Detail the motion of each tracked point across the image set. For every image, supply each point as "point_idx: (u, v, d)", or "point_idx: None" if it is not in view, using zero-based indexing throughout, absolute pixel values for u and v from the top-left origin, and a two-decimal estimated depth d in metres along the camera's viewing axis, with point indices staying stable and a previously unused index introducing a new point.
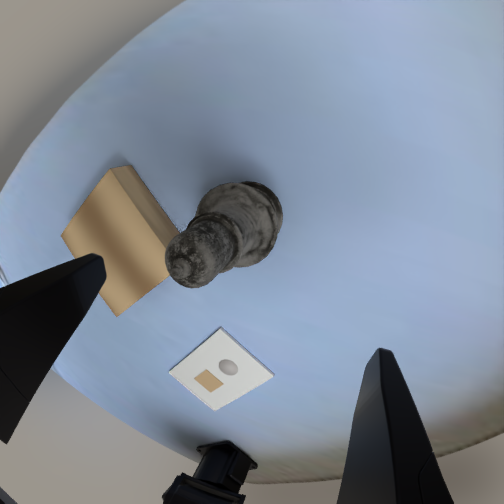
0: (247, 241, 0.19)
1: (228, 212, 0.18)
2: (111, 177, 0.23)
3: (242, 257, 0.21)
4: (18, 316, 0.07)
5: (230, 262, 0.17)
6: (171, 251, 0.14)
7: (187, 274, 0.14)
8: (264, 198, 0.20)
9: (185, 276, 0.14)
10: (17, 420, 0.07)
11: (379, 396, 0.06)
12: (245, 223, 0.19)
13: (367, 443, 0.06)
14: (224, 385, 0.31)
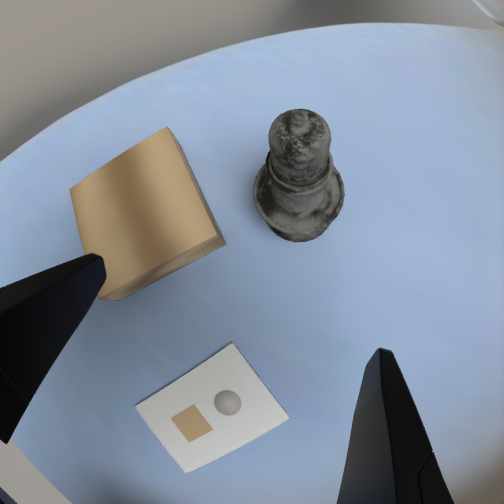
0: (322, 188, 0.17)
1: None
2: (165, 134, 0.22)
3: (304, 218, 0.19)
4: (18, 315, 0.07)
5: (318, 181, 0.15)
6: (287, 114, 0.13)
7: (306, 130, 0.12)
8: (334, 167, 0.19)
9: (302, 133, 0.12)
10: (17, 420, 0.07)
11: (379, 396, 0.06)
12: None
13: (367, 443, 0.06)
14: (213, 432, 0.20)
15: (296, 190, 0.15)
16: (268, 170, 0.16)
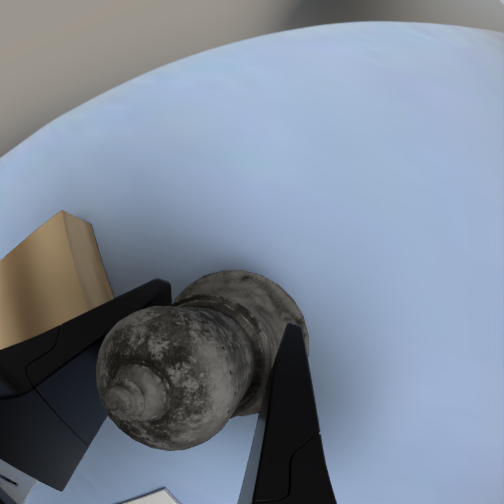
0: None
1: None
2: (59, 223, 0.14)
3: None
4: (83, 360, 0.06)
5: None
6: (119, 342, 0.05)
7: (153, 414, 0.04)
8: (295, 305, 0.12)
9: (145, 419, 0.04)
10: (74, 465, 0.06)
11: (272, 368, 0.07)
12: None
13: (261, 417, 0.06)
14: None
15: None
16: None
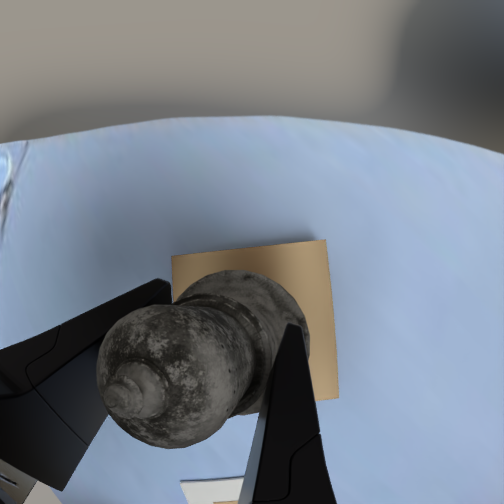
0: None
1: None
2: (321, 250, 0.19)
3: None
4: (83, 360, 0.06)
5: None
6: (119, 340, 0.05)
7: (152, 412, 0.04)
8: (296, 305, 0.12)
9: (144, 416, 0.04)
10: (73, 465, 0.06)
11: (273, 368, 0.07)
12: None
13: (261, 417, 0.06)
14: None
15: None
16: None
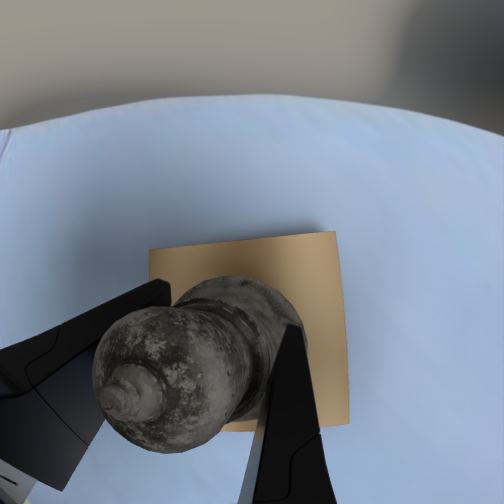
0: None
1: None
2: (329, 244, 0.15)
3: None
4: (83, 360, 0.06)
5: (234, 409, 0.07)
6: (116, 342, 0.05)
7: (148, 415, 0.04)
8: (294, 311, 0.11)
9: (140, 420, 0.04)
10: (73, 465, 0.06)
11: (273, 368, 0.07)
12: None
13: (261, 417, 0.06)
14: None
15: None
16: None
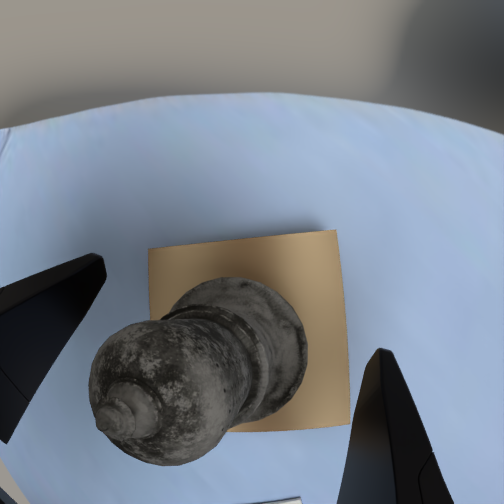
0: None
1: None
2: (330, 243, 0.15)
3: None
4: (18, 315, 0.07)
5: None
6: (111, 358, 0.04)
7: (145, 433, 0.04)
8: (294, 313, 0.11)
9: (137, 436, 0.04)
10: (17, 419, 0.07)
11: (379, 396, 0.06)
12: None
13: (367, 443, 0.06)
14: None
15: None
16: None
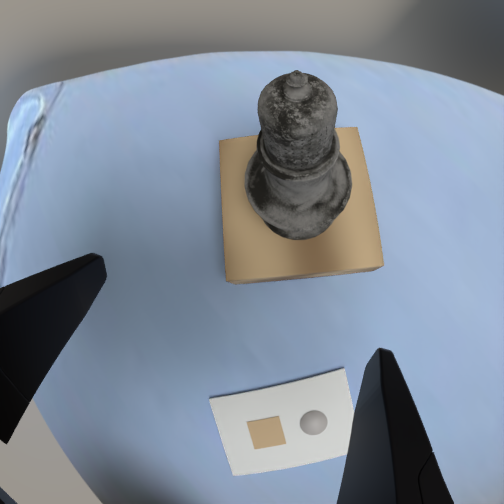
0: (326, 176, 0.14)
1: None
2: (354, 134, 0.20)
3: (305, 212, 0.15)
4: (18, 315, 0.07)
5: (321, 164, 0.12)
6: (281, 78, 0.09)
7: (305, 95, 0.09)
8: (340, 152, 0.16)
9: (300, 100, 0.09)
10: (17, 420, 0.07)
11: (379, 396, 0.06)
12: None
13: (367, 443, 0.06)
14: (284, 445, 0.20)
15: (295, 175, 0.12)
16: (259, 152, 0.13)
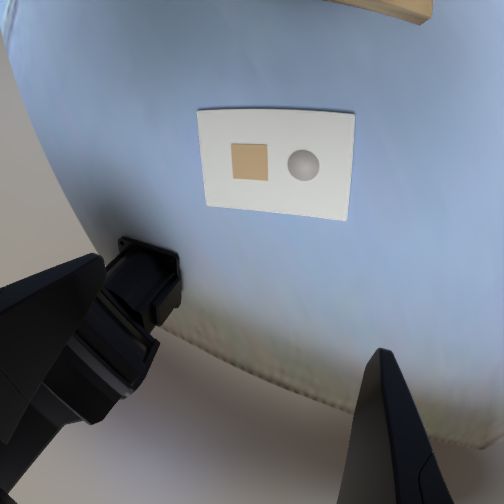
0: None
1: None
2: None
3: None
4: (18, 315, 0.07)
5: None
6: None
7: None
8: None
9: None
10: (17, 419, 0.07)
11: (379, 396, 0.06)
12: None
13: (367, 443, 0.06)
14: (265, 182, 0.20)
15: None
16: None
